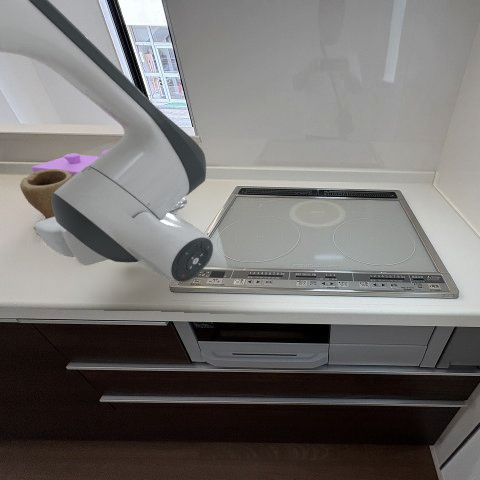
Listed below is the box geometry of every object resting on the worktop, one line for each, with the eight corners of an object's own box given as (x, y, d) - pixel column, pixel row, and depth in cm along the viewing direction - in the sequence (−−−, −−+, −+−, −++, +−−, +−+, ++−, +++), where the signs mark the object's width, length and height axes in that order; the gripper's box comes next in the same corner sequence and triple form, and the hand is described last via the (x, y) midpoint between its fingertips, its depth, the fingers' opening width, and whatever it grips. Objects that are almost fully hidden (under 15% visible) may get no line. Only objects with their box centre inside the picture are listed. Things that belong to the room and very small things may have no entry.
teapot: (143, 184, 96) (129, 144, 88) (81, 217, 76) (56, 170, 68) (106, 180, 98) (89, 141, 90) (36, 211, 77) (6, 164, 70)
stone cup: (66, 242, 66) (31, 186, 57) (29, 234, 68) (-10, 179, 60) (118, 214, 78) (95, 164, 70) (85, 208, 80) (60, 159, 72)
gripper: (188, 187, 49) (147, 170, 55) (48, 236, 35) (14, 205, 41) (195, 216, 53) (156, 197, 59) (71, 271, 38) (37, 239, 44)
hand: (97, 201), depth 50 cm, fingers closed on sponge wand, 3 cm apart
